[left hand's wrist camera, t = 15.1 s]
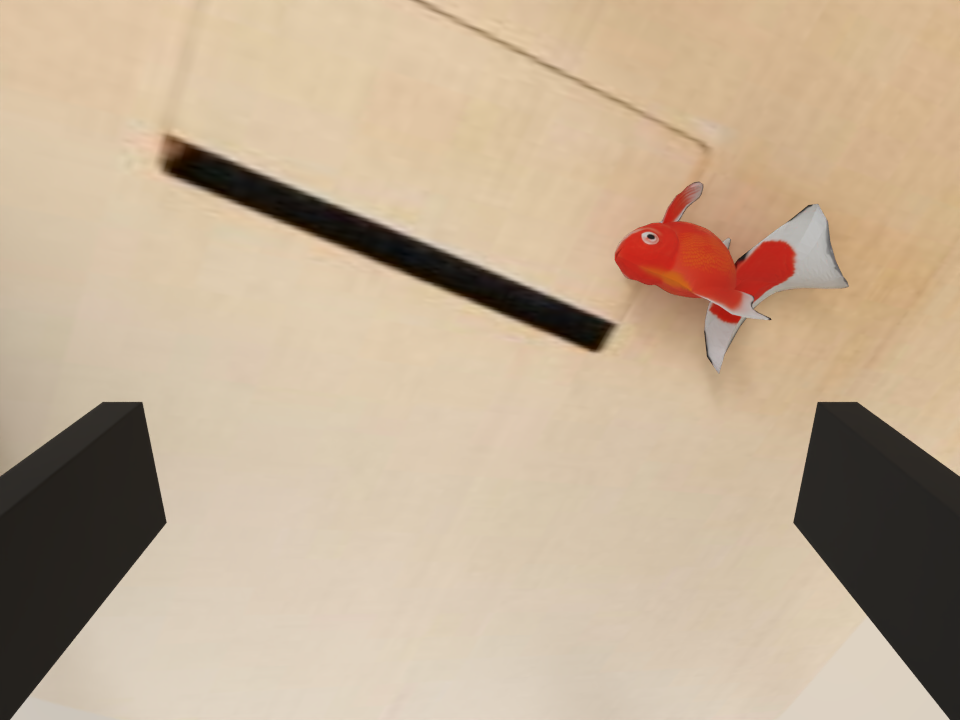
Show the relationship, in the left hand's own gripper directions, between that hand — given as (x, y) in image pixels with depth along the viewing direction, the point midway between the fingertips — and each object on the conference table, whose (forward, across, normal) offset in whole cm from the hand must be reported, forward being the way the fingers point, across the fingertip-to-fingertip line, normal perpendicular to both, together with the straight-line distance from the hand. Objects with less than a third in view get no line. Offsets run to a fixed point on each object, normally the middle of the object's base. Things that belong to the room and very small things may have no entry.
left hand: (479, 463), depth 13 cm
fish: (+32, -16, +2) cm, 35 cm away
